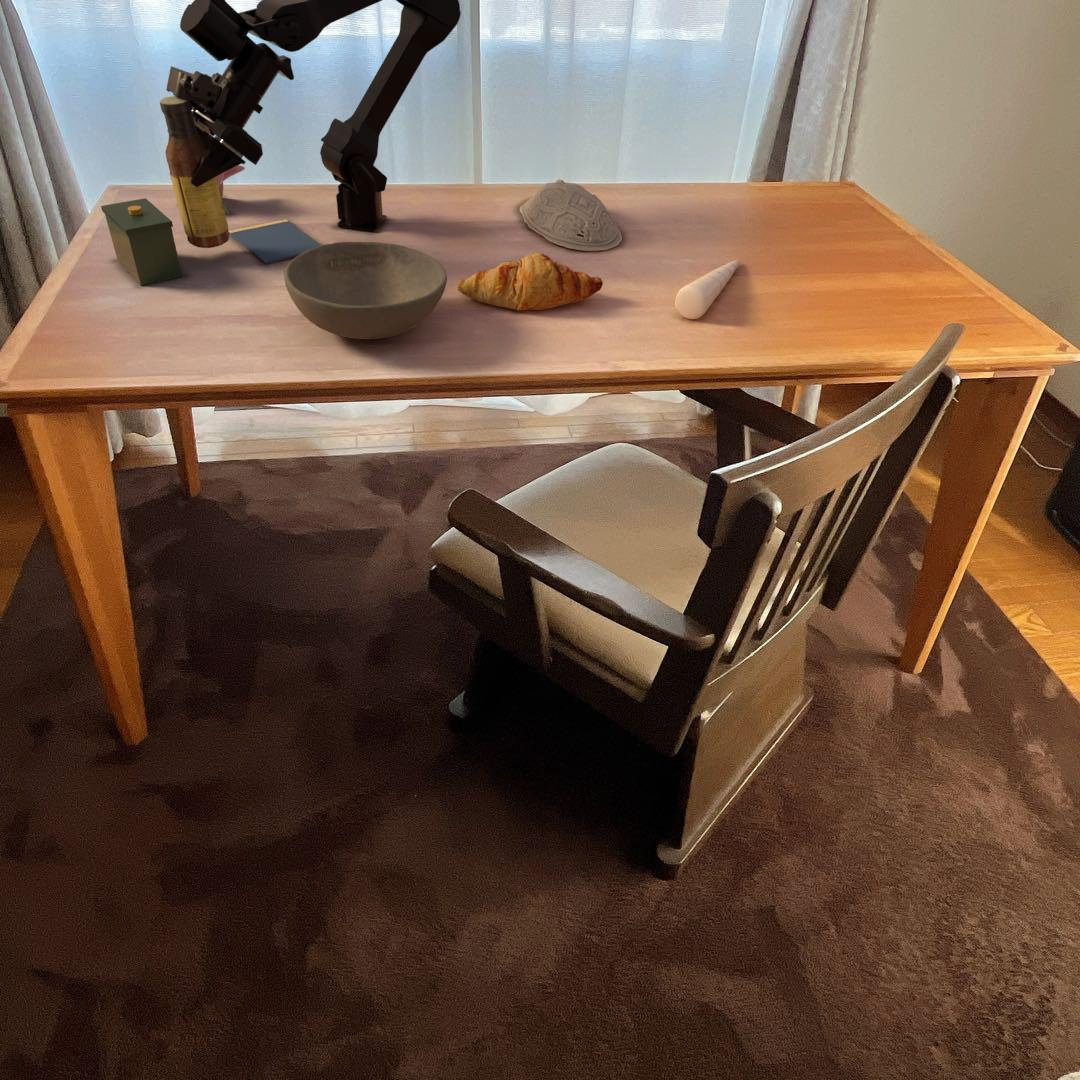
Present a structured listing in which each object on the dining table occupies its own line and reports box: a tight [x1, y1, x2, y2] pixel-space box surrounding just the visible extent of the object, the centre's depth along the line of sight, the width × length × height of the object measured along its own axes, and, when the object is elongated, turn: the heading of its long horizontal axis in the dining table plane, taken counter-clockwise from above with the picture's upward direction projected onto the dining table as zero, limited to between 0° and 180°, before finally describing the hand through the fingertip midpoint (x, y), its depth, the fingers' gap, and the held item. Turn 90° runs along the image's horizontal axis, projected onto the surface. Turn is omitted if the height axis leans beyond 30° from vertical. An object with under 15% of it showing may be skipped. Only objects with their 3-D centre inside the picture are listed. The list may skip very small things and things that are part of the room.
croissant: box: [456, 252, 604, 311], centre depth 126 cm, size 21×10×8 cm, turn 97°
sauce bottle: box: [159, 95, 230, 249], centre depth 126 cm, size 6×6×20 cm
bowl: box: [283, 241, 448, 340], centre depth 117 cm, size 21×21×8 cm
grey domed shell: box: [519, 178, 623, 252], centre depth 150 cm, size 16×25×7 cm, turn 19°
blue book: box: [228, 218, 321, 265], centre depth 139 cm, size 10×14×1 cm
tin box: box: [100, 198, 183, 286], centre depth 126 cm, size 6×10×9 cm, turn 38°
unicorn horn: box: [674, 259, 740, 320], centre depth 132 cm, size 5×24×5 cm, turn 149°
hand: (184, 178), depth 125 cm, fingers closed on sauce bottle, 6 cm apart
